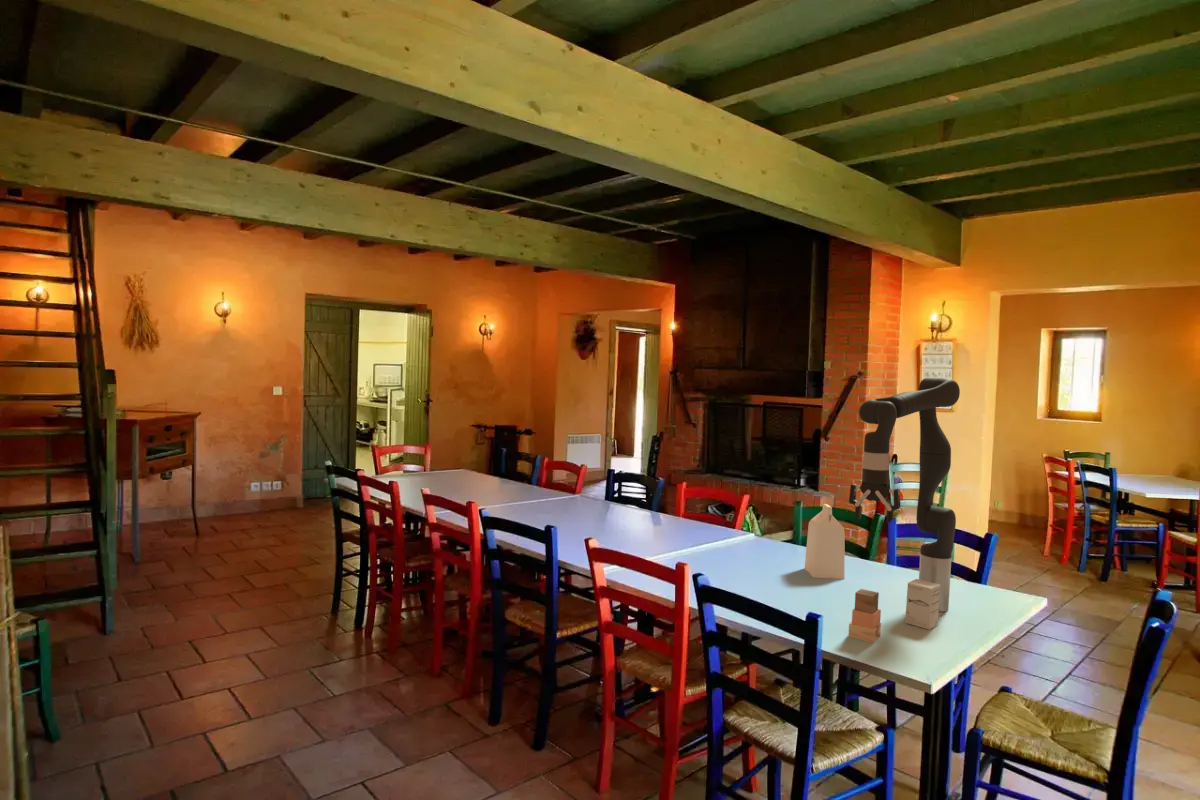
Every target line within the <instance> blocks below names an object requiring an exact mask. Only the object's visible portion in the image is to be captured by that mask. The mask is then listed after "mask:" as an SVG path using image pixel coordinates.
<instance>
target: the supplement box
mask: <svg viewBox="0 0 1200 800" xmlns="http://www.w3.org/2000/svg"><path fill="white" fill-rule="evenodd" d="M940 586H941V585H940V584H935V583H931V582H927V581H923V580H919V578H915V579H913V580H912V581H911V580H910V581H909V582H907V587H906V588H907V591H906V606H905V619H904V623H905V624H908V625H912V626H915V627H918V628H922V629H925V630H931V629H933V628H934V627H936V626H938V622H939V597H940Z"/></svg>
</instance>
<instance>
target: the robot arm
mask: <svg viewBox="0 0 1200 800" xmlns="http://www.w3.org/2000/svg"><path fill="white" fill-rule="evenodd" d="M917 389H918V390H911V391H905V392H900V393H897V394H893V395H891V396H887V397H879V398H873V399H868V400H866V401H864V402H863V403H862V404H861V406H860V407H859V410H858V414H859V417H860V419H861V420H862V421H863V422H864V423H866V424H869V425H871V424H872V425H877V428H876V430H874V431H870V432H866V434H865V435H864V439H863V440H864V441H863V442H864V443H863V456H862V462H861V466H862V467H861V468H862V469H861V474H862V475H861V484H856V483H852V484H850V489H849V497H848V503H849V504H851V505H853V506H854V507H855V508H854V509H855V511H854V515H855V516H854V517H856V519H857V520H861V519H862V511H863V509H862V508H863V506H862V505H863V503H864V502H865V501H866V500H867V501H870V502H871V501H875V502H877V503H879V502H881V503H882V504H883V506H884V507H885V508H886V524H890V523H891V522H893V520H894V511H897V510H899V509H901V490H900V489H901V488H890V485H889V482H890V463H891V462H890V461H891V459H890V441H891V438H892V437H891V436H892V433H893V429H894V428H895V424H896V421H897V419H899V418H903V417H907V416H909V415H911V414H914V413H918V414H919V416H918V417H919V489H918V497H917V507H916V517H915V518H916V526H917V528H918V530H919V531H920V532H922V533H926V534H931V535H936V536H937V539H936V541H934V542H927V543H923V544H921V545H920V550H919V553H920V554H919V571H918V572H919V573H918V579H919V580H923V581H927V582H931V583H935V584H940V585H941V586H940V597H939V612H941V613H942V612H947V611H949V604H950V587H951V571H952V570H951V568H952V553H953V549H954V541H955V533H956V524H957V518H956V516H957V515H956V513H955V511H954V510H953V509H951V508H948V507H943V506H938V505H934V497H935V493H936V490H937V488H938V487H939V485H941V482H943V481H944V479H945V478H946V476H947V475H948V473H949V472H950V469H951V465H952V464H951V463H952V448H951V443H950V442H949V440H948V438H947V437H946V434H945V433H944V431H943V430H942V428H941V426H940V424H939V421H938V418H937V417H938V416H937V408H946V407H947V408H949V407H953V406H954V405H955V404H956V403H957V402H958V401H959V398H960V395H961V393H960V390H961V389H960V386H959V383H958V382H957V381H955V380H954V379H952V378H946V377H944V378H943V377H941V378H939V377H925V378H923V379H922V380H921V381H920V382H919V385H918V388H917ZM859 490H860V492H861V493H862V495H861V496H860V497H859V499H858V500H857V492H858V491H859ZM889 494H891V496H892V497H893V504H892V502H891V500H890V499H889V497H888V495H889ZM939 612H938V613H939Z"/></svg>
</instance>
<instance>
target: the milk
mask: <svg viewBox="0 0 1200 800" xmlns="http://www.w3.org/2000/svg"><path fill="white" fill-rule="evenodd" d="M832 508H833V507H832V506H831V505H829V504H827V503H823V505H822V510H821V511H820V512H819V513H817V514H816V515H815V516H813V517H812V518H811V519H810V520H809V522H808V527H807V529H808V530H807V538H806V539H807V540H806V546H805V547H806V548H805V559H804V570H805V571H807V573H808V574H809V575H810V576H811V577H813V578H817V579H818V578H819V579H820V578H822V579H823V578H824V579H838V580H839V579H842V580H844V579H845V575H846V573H845V572H846V571H845V561H846V560H845V554H846V551H845V543H846V542H845V528H844V526H843V525H842V524H841V522H839V520H837V519H836V518H835V517H834V515H833V509H832Z"/></svg>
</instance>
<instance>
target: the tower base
mask: <svg viewBox="0 0 1200 800" xmlns="http://www.w3.org/2000/svg"><path fill="white" fill-rule="evenodd" d="M881 629H882V622H880V624H879V625H878V626H876V627H875V628H874V629H872V628H868V627H864V626H860V625H856V624H852V621H850V622H849V623H848V635H847V636H848V638H852V639H855V640H856V639H857V640H861V641H865V642H868V643H873V644H874V643H876V642H877V640H878V639H879V638H880V637H881V632H882V631H881Z"/></svg>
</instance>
